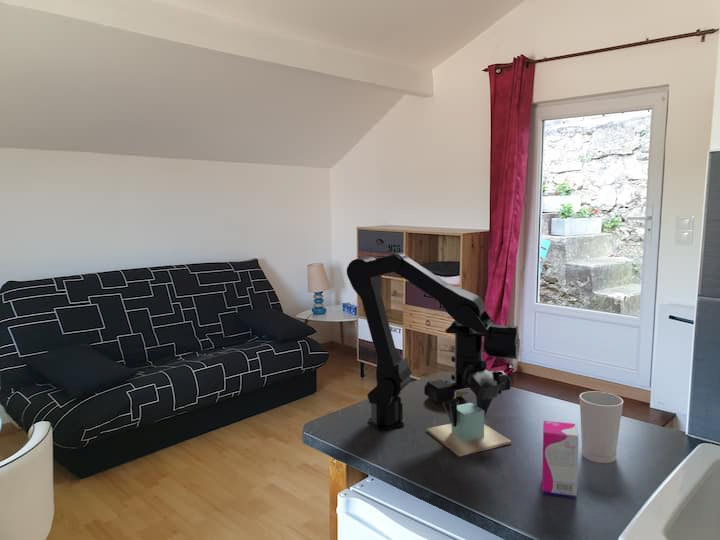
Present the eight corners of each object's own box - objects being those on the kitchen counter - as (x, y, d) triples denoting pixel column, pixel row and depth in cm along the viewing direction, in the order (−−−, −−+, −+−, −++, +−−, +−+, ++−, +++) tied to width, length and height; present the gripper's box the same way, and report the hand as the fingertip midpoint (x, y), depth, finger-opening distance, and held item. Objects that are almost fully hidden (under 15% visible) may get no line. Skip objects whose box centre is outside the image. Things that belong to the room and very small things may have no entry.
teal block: (464, 441, 113) (464, 414, 112) (451, 432, 118) (451, 406, 117) (484, 437, 115) (484, 410, 114) (470, 428, 120) (470, 402, 119)
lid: (431, 408, 133) (431, 389, 132) (424, 393, 143) (424, 375, 142) (473, 407, 133) (473, 387, 133) (464, 392, 143) (464, 374, 143)
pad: (459, 456, 108) (459, 453, 108) (426, 431, 120) (426, 428, 120) (511, 443, 113) (511, 441, 113) (475, 420, 125) (475, 418, 125)
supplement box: (575, 482, 98) (577, 422, 96) (577, 499, 92) (579, 436, 91) (541, 477, 100) (543, 419, 98) (541, 494, 94) (543, 432, 92)
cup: (602, 469, 102) (604, 409, 101) (568, 451, 109) (570, 395, 108) (629, 459, 106) (632, 401, 104) (595, 443, 113) (597, 388, 111)
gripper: (451, 371, 103) (451, 447, 105) (528, 358, 110) (527, 430, 112) (423, 355, 113) (423, 425, 115) (495, 344, 120) (494, 410, 123)
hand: (467, 423), depth 116 cm, fingers open, 7 cm apart
